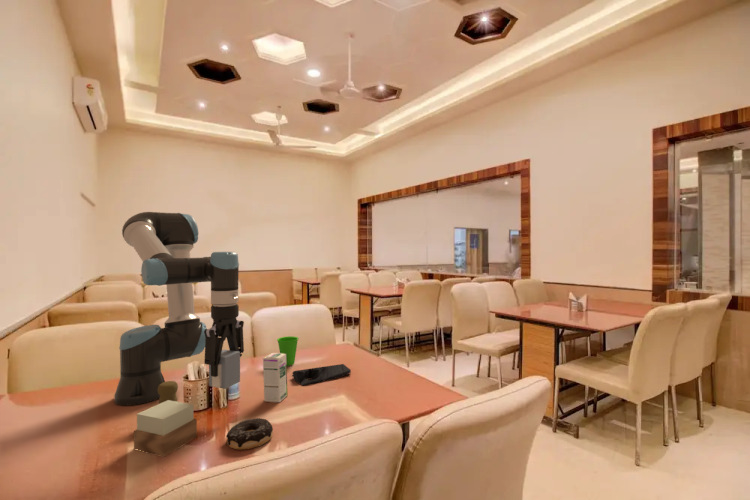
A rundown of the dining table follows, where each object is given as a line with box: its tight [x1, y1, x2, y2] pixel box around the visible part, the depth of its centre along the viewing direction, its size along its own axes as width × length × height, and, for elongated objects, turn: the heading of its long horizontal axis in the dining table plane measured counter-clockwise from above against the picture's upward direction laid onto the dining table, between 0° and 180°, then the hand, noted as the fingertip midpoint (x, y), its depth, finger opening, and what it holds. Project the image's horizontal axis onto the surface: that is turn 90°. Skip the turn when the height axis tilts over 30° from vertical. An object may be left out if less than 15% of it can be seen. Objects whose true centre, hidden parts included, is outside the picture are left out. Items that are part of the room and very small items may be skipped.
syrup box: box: [262, 352, 288, 403], centre depth 123 cm, size 6×6×14 cm
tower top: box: [136, 400, 195, 436], centre depth 96 cm, size 9×9×4 cm
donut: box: [225, 417, 274, 451], centre depth 97 cm, size 11×12×4 cm
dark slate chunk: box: [291, 363, 352, 386], centre depth 145 cm, size 15×22×5 cm
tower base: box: [133, 418, 198, 457], centre depth 96 cm, size 10×10×5 cm
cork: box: [158, 380, 179, 404], centre depth 109 cm, size 6×6×11 cm
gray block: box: [208, 349, 241, 390], centre depth 109 cm, size 6×6×9 cm
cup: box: [276, 336, 300, 367], centre depth 160 cm, size 9×9×11 cm
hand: (225, 382), depth 109 cm, fingers closed on gray block, 6 cm apart
